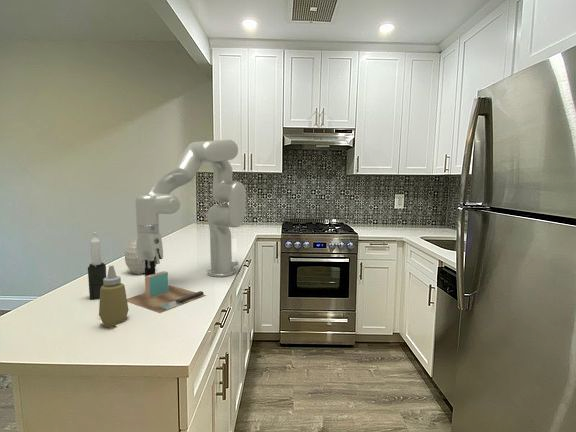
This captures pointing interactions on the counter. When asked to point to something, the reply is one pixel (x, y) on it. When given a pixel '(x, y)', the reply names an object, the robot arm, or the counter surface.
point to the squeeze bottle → (112, 300)
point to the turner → (180, 301)
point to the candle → (96, 270)
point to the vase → (133, 258)
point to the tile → (156, 284)
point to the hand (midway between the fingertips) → (150, 277)
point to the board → (162, 299)
